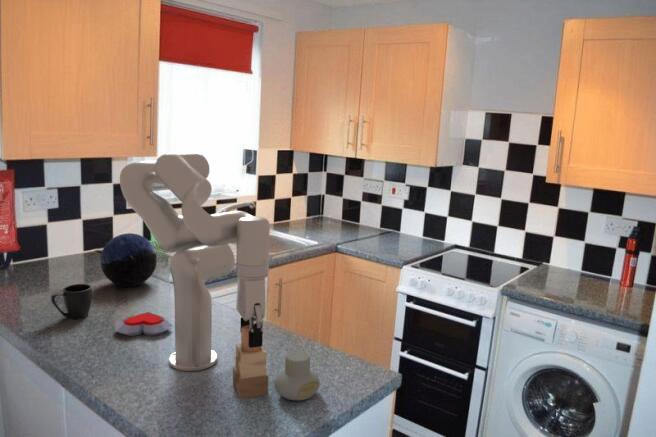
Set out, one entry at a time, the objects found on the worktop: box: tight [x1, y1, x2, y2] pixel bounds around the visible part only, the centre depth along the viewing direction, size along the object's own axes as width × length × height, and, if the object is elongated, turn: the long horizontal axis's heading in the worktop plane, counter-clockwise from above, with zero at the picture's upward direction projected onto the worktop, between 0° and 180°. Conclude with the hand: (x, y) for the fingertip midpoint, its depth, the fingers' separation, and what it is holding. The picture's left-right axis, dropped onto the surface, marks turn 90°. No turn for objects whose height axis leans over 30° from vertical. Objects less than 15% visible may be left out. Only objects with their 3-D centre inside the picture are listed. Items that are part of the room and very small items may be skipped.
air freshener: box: [273, 351, 320, 401], centre depth 128 cm, size 11×8×10 cm
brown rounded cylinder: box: [240, 325, 261, 352], centre depth 128 cm, size 5×5×5 cm
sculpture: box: [114, 311, 173, 337], centre depth 163 cm, size 17×4×15 cm
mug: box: [50, 283, 93, 320], centre depth 168 cm, size 8×12×10 cm
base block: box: [232, 366, 269, 400], centre depth 130 cm, size 7×7×5 cm
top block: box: [235, 343, 267, 379], centre depth 129 cm, size 6×6×6 cm
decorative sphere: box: [99, 232, 158, 288], centre depth 200 cm, size 20×20×20 cm
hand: (251, 339), depth 128 cm, fingers open, 7 cm apart
